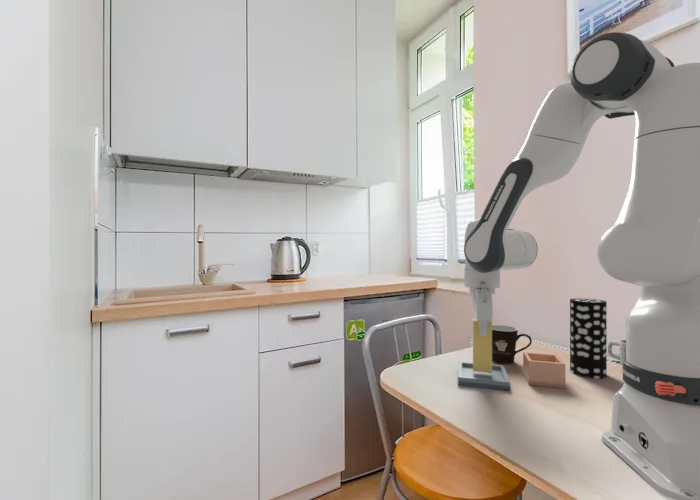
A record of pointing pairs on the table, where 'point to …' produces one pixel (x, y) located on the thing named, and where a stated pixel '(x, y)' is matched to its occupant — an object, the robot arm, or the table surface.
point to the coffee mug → (505, 343)
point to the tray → (483, 377)
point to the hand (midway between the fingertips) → (482, 332)
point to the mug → (622, 350)
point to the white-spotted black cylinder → (588, 338)
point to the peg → (482, 348)
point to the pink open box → (544, 370)
